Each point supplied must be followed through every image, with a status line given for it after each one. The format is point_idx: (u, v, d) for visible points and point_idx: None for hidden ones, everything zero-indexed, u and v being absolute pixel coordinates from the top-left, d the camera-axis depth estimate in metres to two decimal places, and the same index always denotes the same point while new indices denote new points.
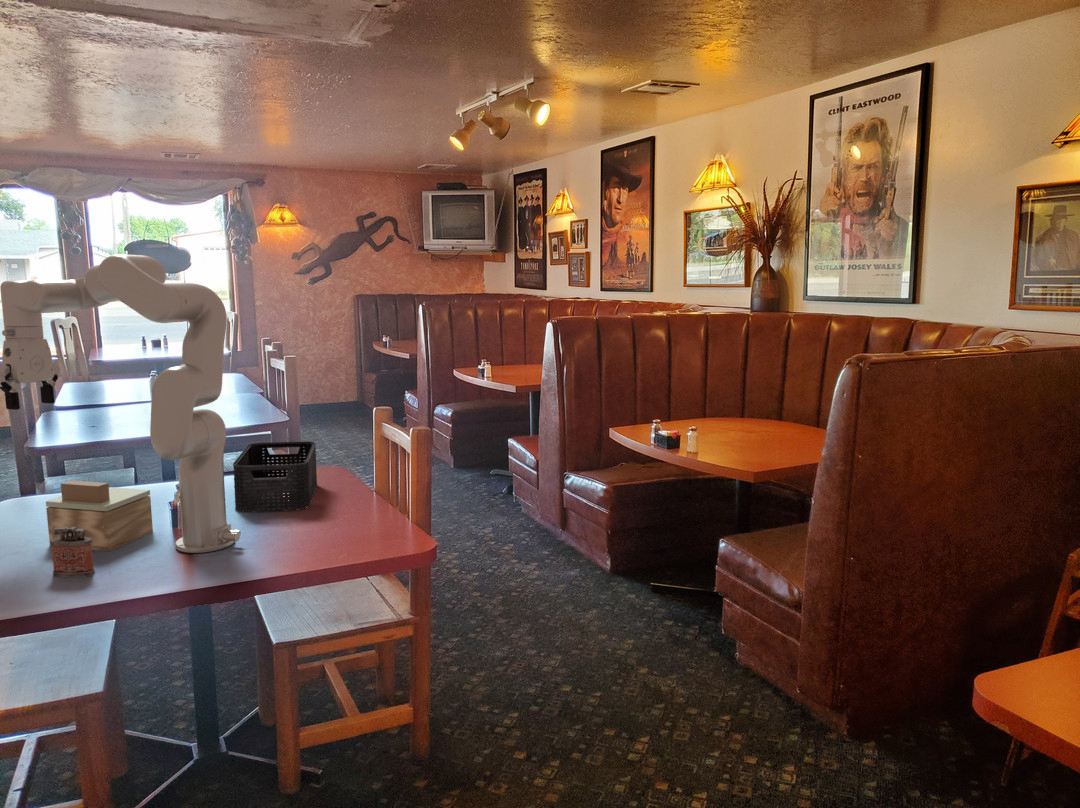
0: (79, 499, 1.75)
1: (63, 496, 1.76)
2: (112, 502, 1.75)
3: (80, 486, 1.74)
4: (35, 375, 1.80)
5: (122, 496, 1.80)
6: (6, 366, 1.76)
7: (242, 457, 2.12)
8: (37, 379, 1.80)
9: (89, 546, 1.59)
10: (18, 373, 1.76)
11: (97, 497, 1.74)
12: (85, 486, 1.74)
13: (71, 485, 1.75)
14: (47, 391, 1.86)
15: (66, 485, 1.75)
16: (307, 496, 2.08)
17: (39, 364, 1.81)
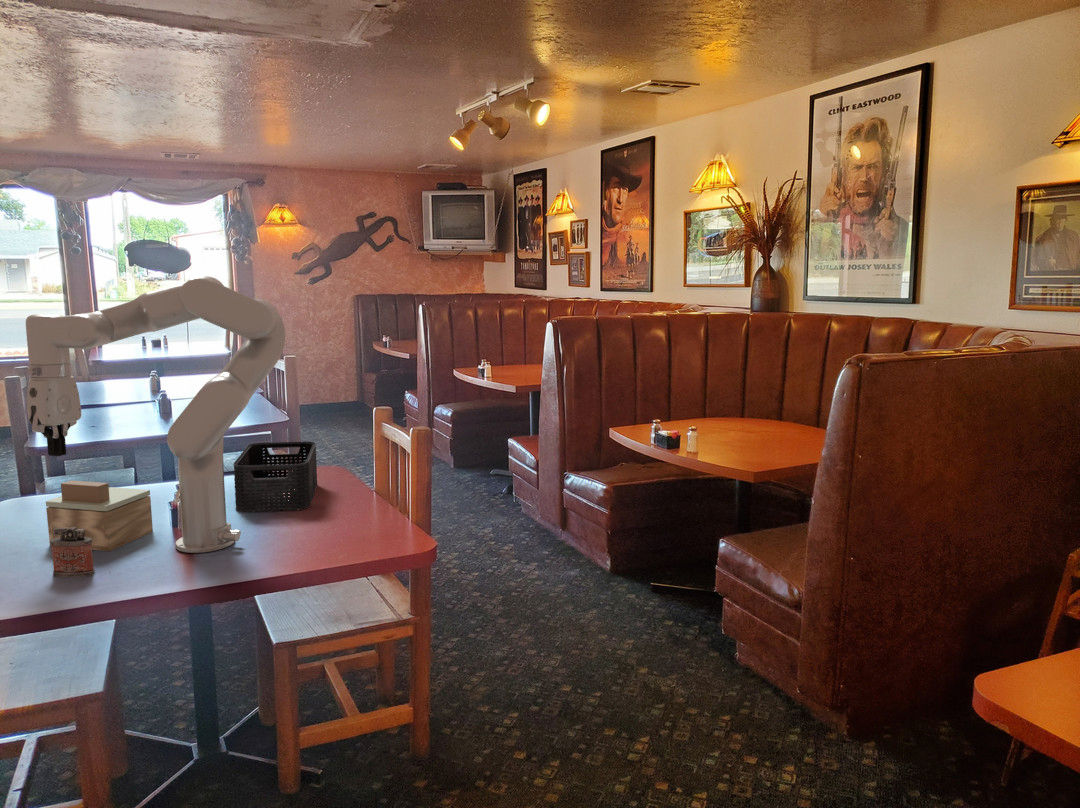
0: (79, 499, 1.75)
1: (63, 496, 1.76)
2: (112, 502, 1.75)
3: (80, 486, 1.74)
4: (62, 417, 1.66)
5: (122, 496, 1.80)
6: (35, 413, 1.62)
7: (242, 457, 2.12)
8: (64, 421, 1.66)
9: (89, 546, 1.59)
10: (44, 415, 1.62)
11: (97, 497, 1.74)
12: (85, 486, 1.74)
13: (71, 485, 1.75)
14: None
15: (66, 485, 1.75)
16: (307, 496, 2.08)
17: (66, 404, 1.67)
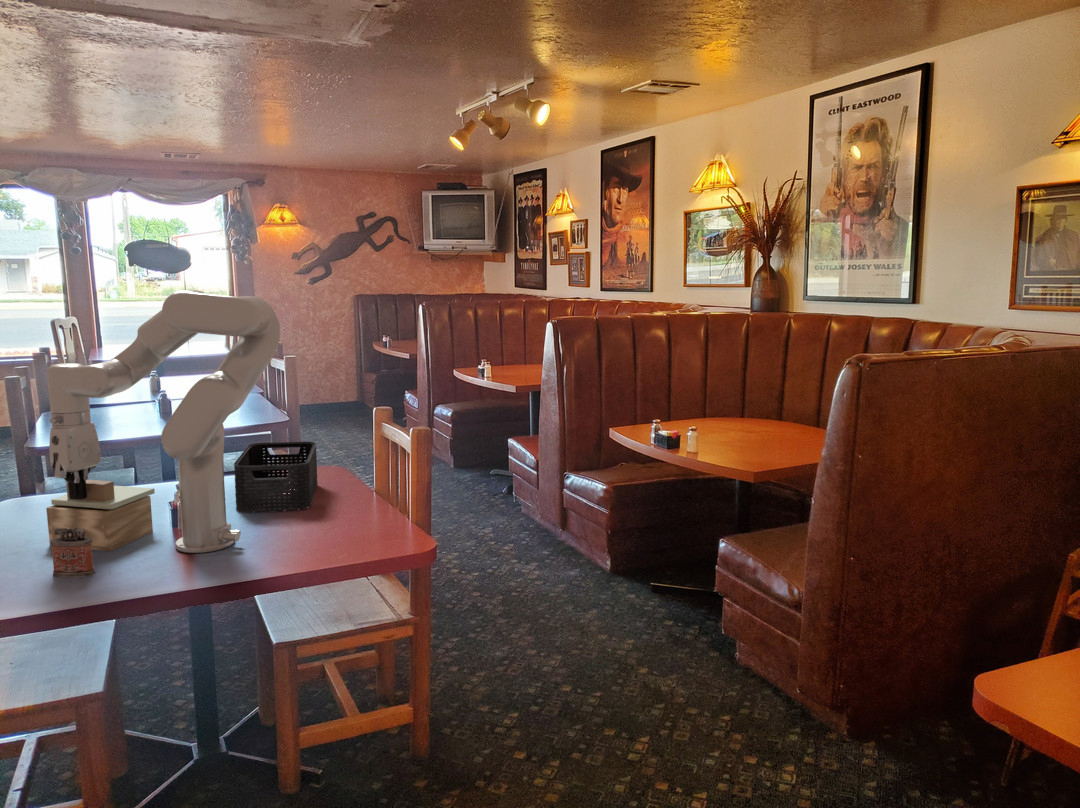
0: None
1: (68, 494, 1.77)
2: (117, 500, 1.76)
3: None
4: (83, 462, 1.71)
5: (127, 494, 1.81)
6: (58, 460, 1.68)
7: (243, 457, 2.12)
8: (85, 466, 1.72)
9: (89, 546, 1.59)
10: (67, 462, 1.67)
11: (102, 495, 1.75)
12: (90, 484, 1.75)
13: None
14: None
15: None
16: (308, 496, 2.07)
17: (87, 450, 1.72)
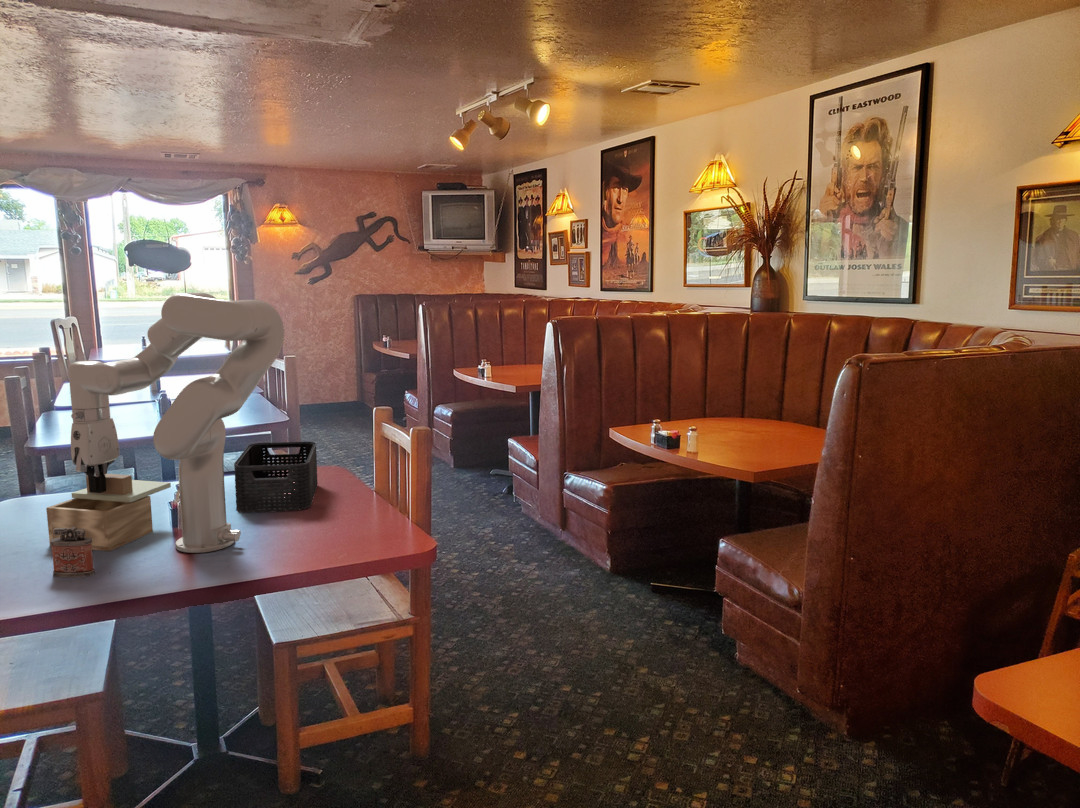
0: None
1: (88, 488, 1.83)
2: (135, 494, 1.82)
3: (105, 478, 1.81)
4: (103, 456, 1.77)
5: (144, 488, 1.87)
6: (79, 454, 1.74)
7: (243, 457, 2.12)
8: (105, 460, 1.78)
9: (89, 546, 1.59)
10: (87, 456, 1.73)
11: (121, 488, 1.81)
12: (109, 478, 1.81)
13: None
14: None
15: None
16: (308, 496, 2.07)
17: (106, 445, 1.78)
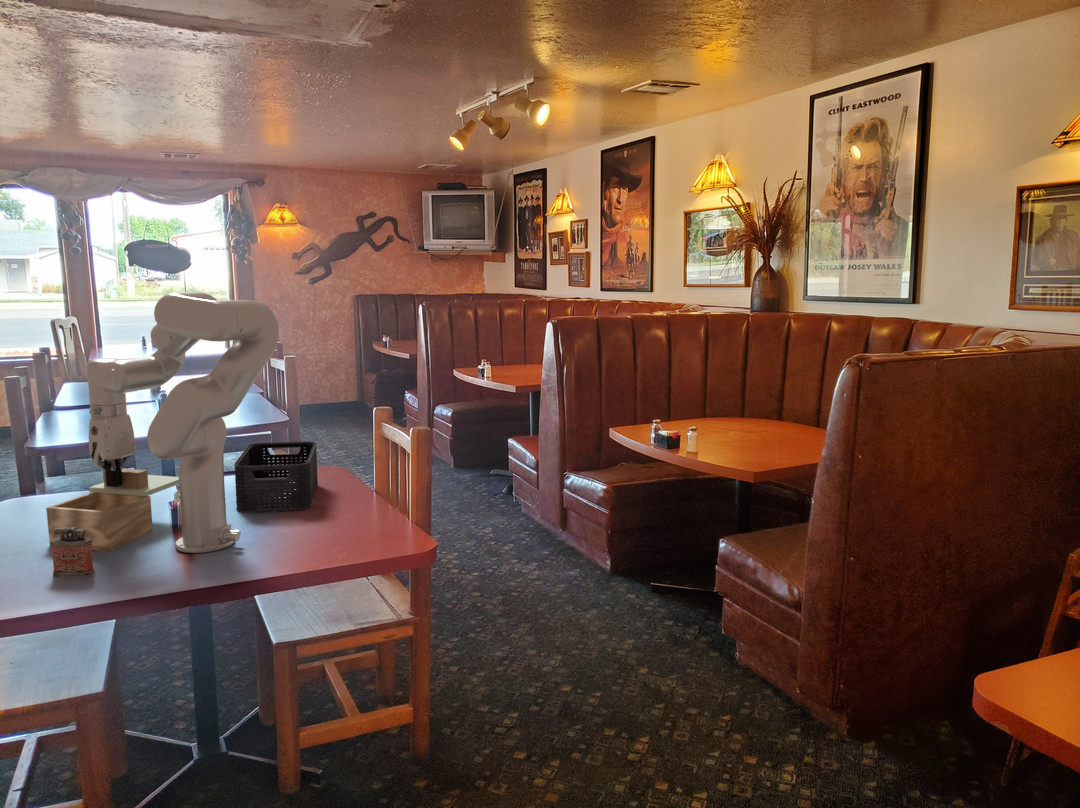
0: None
1: (105, 482, 1.88)
2: (151, 488, 1.87)
3: None
4: (119, 451, 1.82)
5: (159, 483, 1.92)
6: (96, 449, 1.79)
7: (243, 457, 2.12)
8: (121, 455, 1.83)
9: (89, 546, 1.59)
10: (105, 451, 1.78)
11: (137, 483, 1.86)
12: (126, 472, 1.86)
13: None
14: None
15: None
16: (308, 496, 2.07)
17: (123, 440, 1.83)
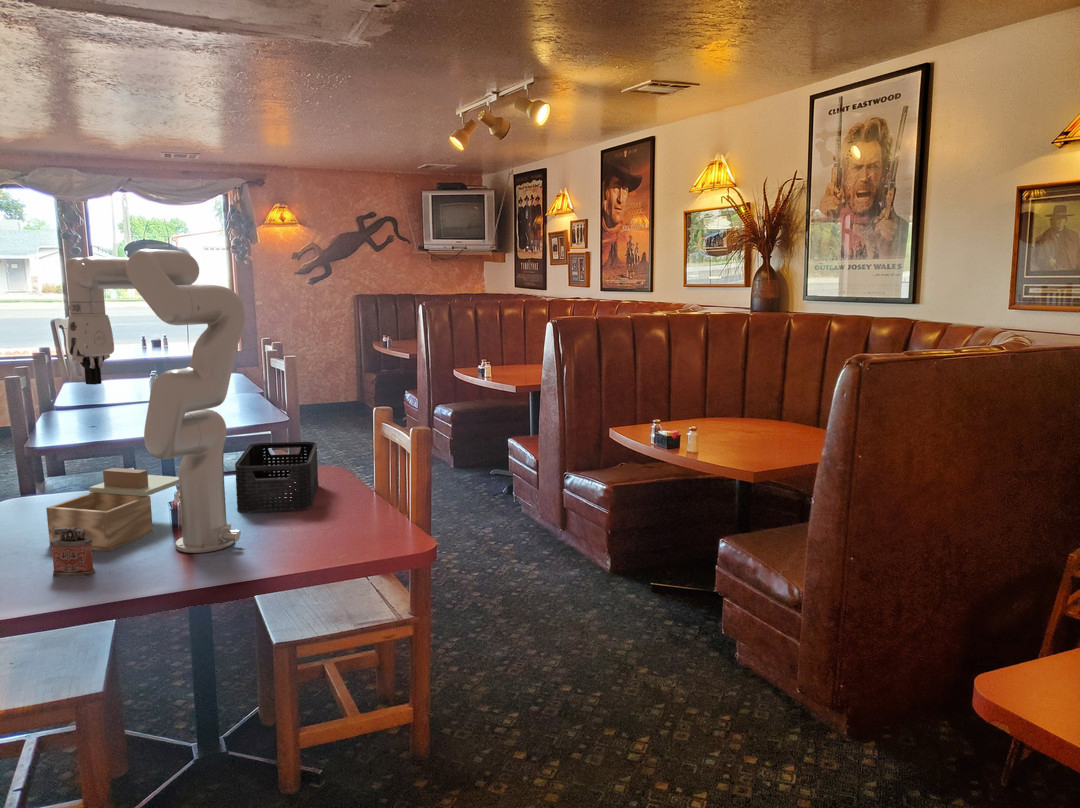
0: (120, 485, 1.87)
1: (105, 482, 1.88)
2: (151, 488, 1.87)
3: (121, 473, 1.87)
4: (98, 349, 1.87)
5: (159, 482, 1.92)
6: (75, 345, 1.84)
7: (244, 457, 2.11)
8: (100, 353, 1.88)
9: (89, 546, 1.59)
10: (83, 346, 1.83)
11: (137, 483, 1.86)
12: (126, 472, 1.86)
13: (113, 472, 1.87)
14: None
15: (108, 472, 1.87)
16: (309, 496, 2.07)
17: (101, 338, 1.88)
